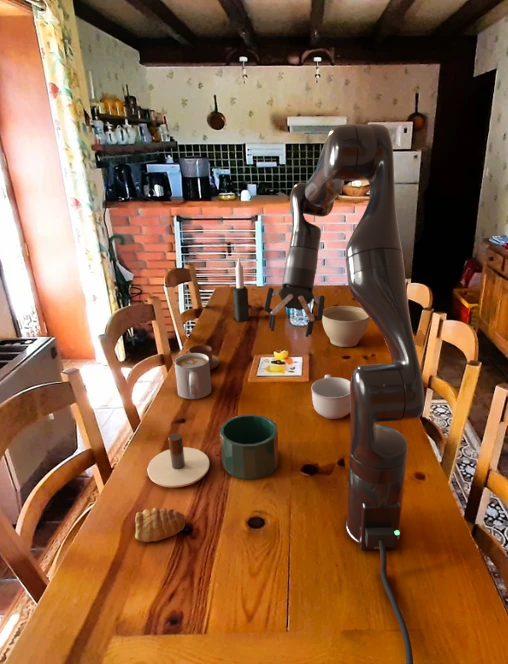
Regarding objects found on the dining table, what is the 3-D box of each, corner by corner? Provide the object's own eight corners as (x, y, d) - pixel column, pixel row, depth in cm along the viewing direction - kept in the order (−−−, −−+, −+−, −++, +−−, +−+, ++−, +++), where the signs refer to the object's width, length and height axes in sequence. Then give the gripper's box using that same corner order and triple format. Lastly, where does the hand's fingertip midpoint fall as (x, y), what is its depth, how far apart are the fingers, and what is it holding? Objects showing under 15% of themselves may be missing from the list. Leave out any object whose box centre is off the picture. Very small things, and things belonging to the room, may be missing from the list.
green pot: (280, 478, 103) (279, 445, 100) (221, 480, 104) (218, 447, 101) (276, 444, 115) (275, 413, 112) (223, 446, 115) (221, 415, 112)
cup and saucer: (178, 374, 153) (176, 356, 151) (190, 358, 164) (188, 341, 162) (214, 376, 150) (213, 358, 148) (224, 360, 161) (223, 342, 159)
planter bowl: (371, 352, 160) (372, 321, 156) (321, 351, 163) (322, 321, 159) (366, 333, 175) (367, 305, 171) (320, 333, 178) (321, 305, 173)
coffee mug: (181, 382, 147) (178, 353, 143) (213, 383, 146) (211, 352, 142) (171, 405, 135) (167, 373, 131) (206, 405, 134) (203, 373, 130)
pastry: (183, 512, 95) (181, 497, 94) (187, 537, 89) (185, 522, 88) (135, 521, 94) (132, 505, 92) (136, 547, 88) (133, 531, 86)
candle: (234, 318, 199) (230, 257, 189) (245, 316, 200) (242, 256, 191) (237, 321, 194) (234, 260, 185) (249, 319, 196) (247, 258, 186)
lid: (207, 488, 102) (204, 454, 98) (142, 490, 102) (137, 457, 99) (211, 450, 114) (208, 418, 111) (153, 452, 115) (149, 421, 112)
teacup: (354, 425, 120) (355, 397, 117) (310, 422, 123) (310, 395, 120) (352, 398, 133) (353, 371, 130) (312, 396, 135) (312, 370, 132)
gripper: (271, 262, 114) (260, 329, 116) (331, 270, 113) (319, 339, 114) (272, 265, 122) (261, 328, 123) (328, 273, 120) (317, 337, 122)
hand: (289, 333), depth 119 cm, fingers open, 8 cm apart
